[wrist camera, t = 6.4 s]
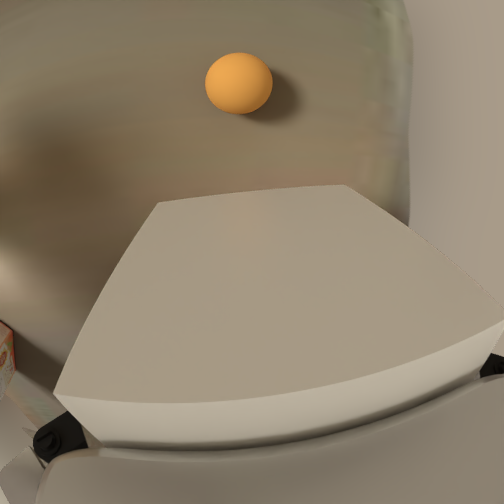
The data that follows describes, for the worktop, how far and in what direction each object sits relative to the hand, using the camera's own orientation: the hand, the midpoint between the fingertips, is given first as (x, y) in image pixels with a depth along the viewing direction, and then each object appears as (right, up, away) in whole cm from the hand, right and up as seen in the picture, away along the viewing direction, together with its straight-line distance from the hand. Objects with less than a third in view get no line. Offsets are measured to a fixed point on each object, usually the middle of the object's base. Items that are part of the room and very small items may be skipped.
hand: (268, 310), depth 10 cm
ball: (-2, +15, +8) cm, 17 cm away
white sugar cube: (0, +1, +2) cm, 3 cm away
